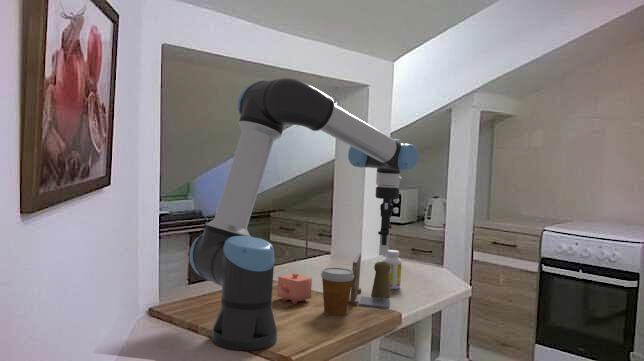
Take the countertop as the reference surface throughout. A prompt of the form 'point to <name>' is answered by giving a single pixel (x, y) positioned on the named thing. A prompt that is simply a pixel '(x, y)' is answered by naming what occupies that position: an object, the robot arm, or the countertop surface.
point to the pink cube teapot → (294, 287)
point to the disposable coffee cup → (336, 290)
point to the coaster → (374, 302)
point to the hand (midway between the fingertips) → (384, 251)
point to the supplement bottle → (394, 268)
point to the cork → (381, 280)
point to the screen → (355, 280)
